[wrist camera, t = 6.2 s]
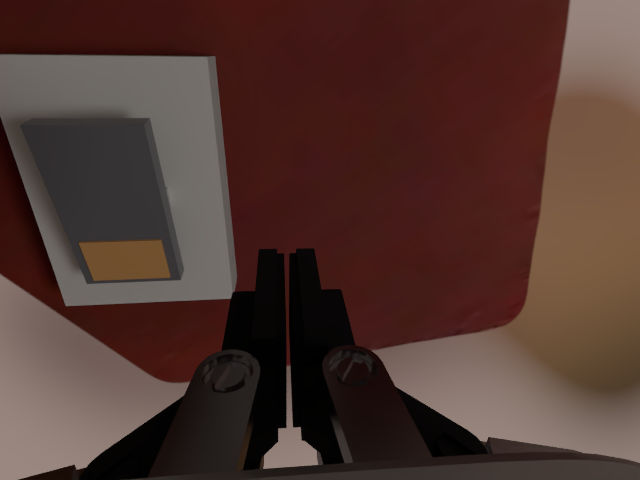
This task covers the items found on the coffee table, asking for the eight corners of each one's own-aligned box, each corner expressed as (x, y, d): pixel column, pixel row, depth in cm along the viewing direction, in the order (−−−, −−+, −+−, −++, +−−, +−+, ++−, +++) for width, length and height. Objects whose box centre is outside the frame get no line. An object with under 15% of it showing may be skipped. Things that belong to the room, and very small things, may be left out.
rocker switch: (31, 118, 27) (18, 126, 25) (149, 117, 28) (143, 125, 26) (93, 273, 35) (85, 285, 33) (184, 269, 35) (180, 281, 34)
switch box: (13, 53, 31) (-37, 54, 26) (215, 56, 32) (203, 57, 28) (84, 283, 41) (57, 315, 36) (237, 277, 42) (231, 307, 37)
